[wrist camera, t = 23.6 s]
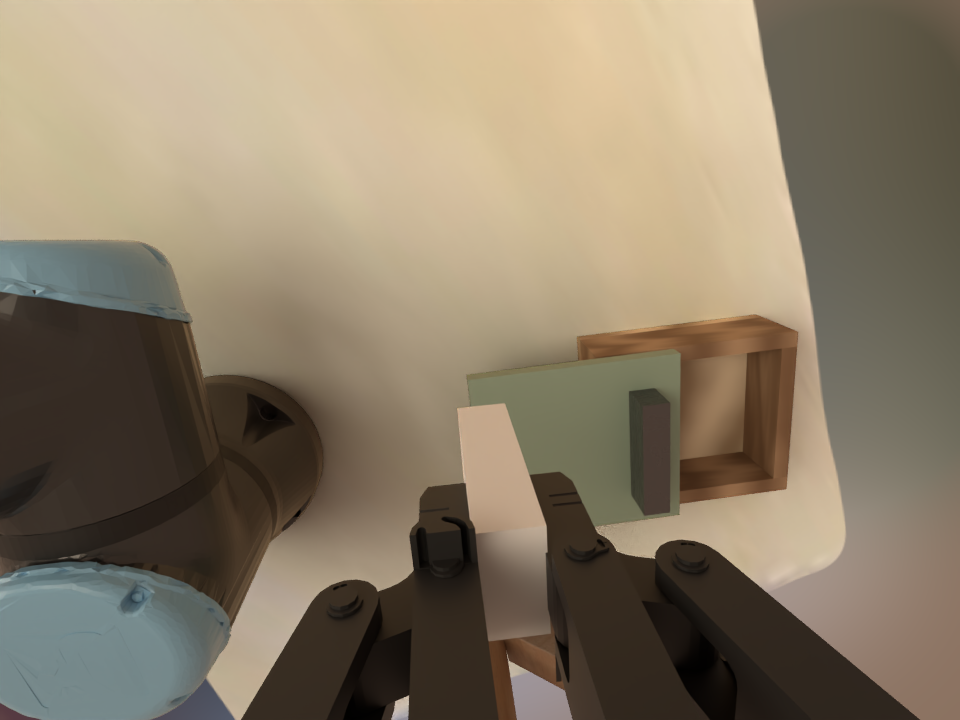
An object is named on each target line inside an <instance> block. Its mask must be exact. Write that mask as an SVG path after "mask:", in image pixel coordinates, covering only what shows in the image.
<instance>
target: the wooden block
mask: <svg viewBox="0 0 960 720" xmlns="http://www.w3.org/2000/svg"><path fill="white" fill-rule="evenodd" d="M550 627H551V634H544V635H536V636H528V637H520V638H512V639H504V640H496V641H488V642H489V649H490V657H491V665H492V672H493V680H494V687H495V695H496V703H497V710H498V718H499V720H517V718H516V712H515V705H514V698H513V692H512V685H511V679H510V672H509V665H508V659H507V654H508V658H509V661H511V662H513V663H515V664H517V665H518V666H520V667H522V668H524V669H526V670H528V671H530V672H532V673H533V674H535V675H537V676H539V677H541V678H543V679H545V680H546V681H548V682H550V683H552V684H554V685H556V686H558V687H560V688H561V689H563V690H565V688H564V685H563V681H560V682H556V659H555V633H554V629H553V626H552V622H551V618H550ZM506 650H507V652H506Z"/></svg>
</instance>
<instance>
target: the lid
mask: <svg viewBox="0 0 960 720" xmlns="http://www.w3.org/2000/svg"><path fill="white" fill-rule="evenodd" d="M680 359H681V353H679V352H678V351H676V350H675V349H669V350H661V351H653V352H645V353H637V354H629V355H621V356H613V357H605V358H597V359H589V360H581V361H573V362H565V363H557V364H549V365H541V366H533V367H525V368H517V369H509V370H502V371H494V372H486V373H478V374H470V375H467V382H468V391H469V399H470V407H472V406H482V405H492V404H502V403H505V405H506V408H507V411H508V414H509V417H510V420H511V423H512V426H513V429H514V432H515V435H516V438H517V440H518V443H519V446H520V449H521V452H522V455H523V458H524V461H525V464H526V467H527V470H528V473H529V475H532V474H541V473H551V472H561V473H563V474H564V475H565V476H567V477H568V478H569V479H571V480H572V481H573V483H574V485H575V487H576V489H577V492H578V494H579V496H580V498H581V500H582V503H583V504H584V506H585V508H586V510H587V512H588V515H589V517H590V519H591V521H592V523H593V525H594V527H595V526H602V525H609V524H616V523H623V522H631V521H638V520H645V519H652V518H660V517H667V516H674V515H679V501H680Z"/></svg>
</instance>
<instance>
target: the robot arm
mask: <svg viewBox="0 0 960 720" xmlns="http://www.w3.org/2000/svg"><path fill="white" fill-rule="evenodd" d="M192 322H193V321H192V316H191V315H190V314H189V313H188V312H186V310H185V307H184V304H183V300H182V297H181V294H180V291H179V288H178V284H177V281H176V278H175V275H174V272H173V268H172V266H171V264H170V262H169V260H168V259H167V258H166V257H165V255H164V254H163V253H161V252H160V251H159V250H158V249H156V248H154V247H153V246H150V245H148V244H146V243H142V242H138V241H128V240H1V241H0V703H2V704H3V705H5V706H7V707H8V708H10V709H13V710H15V711H17V712H19V713H21V714H23V715H25V716H28V717H34V718H37V719H41V720H151V719H154V718H156V717H159V716H161V715H163V714H165V713H167V712H169V711H171V710H173V709H174V708H176V707H177V706H179V705H180V704H182V703H183V702H184V701H186V700H187V699H188V697H189V696H190V695H192V694H193V693H194V691H195V690H196V689H197V688H198V687H199V686H200V685H201V684H202V682H203V681H204V679H205V678H206V676H207V674H208V673H209V671H210V669H211V668H212V666H213V664H214V663H215V661H216V659H217V658H218V656H219V654H220V653H221V652H222V651H223V650H224V648H225V647H226V645H227V643H228V640H229V638H230V636H231V634H230V632H231V628H232V625H233V623H234V621H235V619H236V616H237V614H238V612H239V610H240V608H241V605H242V603H243V601H244V599H245V596H246V594H247V592H248V590H249V587H250V585H251V583H252V581H253V579H254V576H255V574H256V572H257V570H258V567H259V565H260V563H261V561H262V559H263V556H264V554H265V552H266V550H267V548H268V545H269V543H270V542H271V541H272V540H273V539H274V538H276V537H277V536H278V535H279V534H280V533H281V532H282V531H284V530H285V529H287V528H288V527H289V526H290V525H292V524H293V523H294V522H295V521H296V520H297V519H298V518H299V517H300V516H301V515H302V514H303V512H304V511H305V510H306V508H307V507H308V505H309V504H310V502H311V500H312V498H313V496H314V494H315V491H316V488H317V486H318V483H319V480H320V477H321V473H322V467H323V452H322V446H321V442H320V438H319V435H318V433H317V430H316V428H315V426H314V424H313V423H312V421H311V419H310V418H309V416H308V415H307V414H306V412H305V411H304V410H303V409H302V408H301V407H300V406H299V405H298V404H297V403H296V402H295V401H294V400H293V399H292V398H290V397H289V396H288V395H286V394H285V393H283V392H282V391H280V390H279V389H277V388H275V387H273V386H271V385H269V384H266V383H264V382H261V381H258V380H255V379H251V378H247V377H242V376H231V375H220V376H211V377H205V378H203V374H202V370H201V366H200V362H199V358H198V354H197V350H196V346H195V342H194V338H193V333H192V329H191V325H190V323H192ZM457 411H458V422H459V433H460V444H461V455H462V466H463V477H464V483H461V484H452V485H443V486H433V487H428V488H427V489H426V491H425V492H424V493H423V495H422V496H421V498H420V509H419V511H420V513H419V522H418V523H417V524H416V525H415V526H414V527H413V528H412V530H411V533H410V535H409V536H410V543H411V551H412V559H413V567H414V571H413V572H412V573H411V574H410V575H409V576H408V577H407V578H406V579H405V580H403V581H402V582H400V583H399V584H396V585H394V586H392V587H390V588H387V589H384V590H381V591H379V592H377V589H376V587H374V586H373V585H372V584H370V583H369V582H366V581H361V580H347V581H342V582H339V583H336V584H333V585H331V586H329V587H328V588H326V589H324V590H323V591H321V592H320V593H319V594H318V595H317V596H316V597H315V599H314V600H313V601H312V602H311V604H310V606H309V607H308V609H307V611H306V612H305V614H304V616H303V617H302V619H301V621H300V622H299V624H298V626H297V627H296V629H295V631H294V632H293V634H292V636H291V637H290V639H289V641H288V642H287V644H286V646H285V647H284V649H283V651H282V652H281V654H280V656H279V657H278V659H277V661H276V662H275V664H274V666H273V667H272V669H271V671H270V672H269V674H268V676H267V677H266V679H265V681H264V682H263V684H262V686H261V687H260V689H259V691H258V692H257V694H256V696H255V697H254V699H253V701H252V702H251V704H250V706H249V707H248V709H247V711H246V712H245V714H244V716H243V717H242V719H241V720H391V718H392V715H393V712H394V706H395V701H397V700H399V699H401V698H404V697H406V696H408V695H409V716H408V718H409V719H408V720H499V718H498V710H497V703H496V695H495V687H494V680H493V672H492V665H491V657H490V649H489V642H488V641H496V640H504V639H512V638H520V637H528V636H536V635H544V634H551V627H550V618H551V622H552V626H553V629H554V633H555V659H556V682H560V681H563V685H564V688H565V692H566V696H567V700H568V704H569V707H570V711H571V715H572V719H573V720H920V719H918V718H917V717H916V716H915V715H914V714H912V713H911V712H910V711H909V710H908V709H906V708H905V707H904V706H903V705H902V704H900V703H899V702H898V701H897V700H896V699H894V698H893V697H892V696H891V695H889V694H888V693H887V692H886V691H884V690H883V689H882V688H881V687H880V686H879V685H877V684H876V683H875V682H874V681H873V680H871V679H870V678H869V677H868V676H866V675H865V674H864V673H863V672H862V671H861V670H859V669H858V668H857V667H856V666H855V665H853V664H852V663H851V662H850V661H848V660H847V659H846V658H845V657H843V656H842V655H841V654H840V653H839V652H838V651H836V650H835V649H834V648H833V647H832V646H830V645H829V644H828V643H827V642H826V641H824V640H823V639H822V638H821V637H820V636H818V635H817V634H816V633H815V632H814V631H812V630H811V629H810V628H809V627H808V626H806V625H805V624H804V623H803V622H802V621H800V620H799V619H798V618H797V617H796V616H794V615H793V614H792V613H791V612H789V611H788V610H787V609H786V608H785V607H783V606H782V605H781V604H780V603H779V602H777V601H776V600H775V599H774V598H773V597H771V596H770V595H769V594H768V593H767V592H765V591H764V590H763V589H762V588H761V587H759V586H758V585H757V584H756V583H755V582H753V581H752V580H751V579H750V578H749V577H747V576H746V575H745V574H744V573H742V572H741V571H740V570H739V569H738V568H736V567H735V566H734V565H733V564H732V563H730V562H729V561H728V560H727V559H726V558H724V557H723V556H722V555H721V554H720V553H718V552H717V551H715V550H714V549H712V548H711V547H709V546H707V545H705V544H702V543H698V542H695V541H688V540H676V541H669V542H667V543H665V544H663V545H661V546H660V547H659V549H658V550H657V551H656V555H655V559H652V558H643V557H635V556H629V555H625V554H622V553H619V552H617V551H616V549H615V547H614V546H613V545H612V543H611V542H610V541H609V540H608V539H607V538H605V537H603V536H601V535H600V534H598V533H597V531H596V529H595V527H594V525H593V523H592V521H591V519H590V517H589V515H588V512H587V510H586V508H585V506H584V504H583V503H582V500H581V498H580V496H579V494H578V492H577V489H576V487H575V485H574V483H573V481H572V480H571V479H569V478H568V477H567V476H565V475H564V474H563V473H561V472H551V473H541V474H532V475H529V473H528V470H527V467H526V464H525V461H524V458H523V455H522V452H521V449H520V446H519V443H518V440H517V438H516V435H515V432H514V429H513V426H512V423H511V420H510V417H509V414H508V411H507V408H506V405H505V403H502V404H492V405H482V406H472V407H462V408H457Z"/></svg>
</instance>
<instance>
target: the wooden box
mask: <svg viewBox="0 0 960 720" xmlns="http://www.w3.org/2000/svg"><path fill="white" fill-rule="evenodd" d="M797 340H798V332H797V331H795V330H792V329H790V328H787V327H785V326H782V325H780V324H778V323H775V322H773V321H770V320H768V319H765V318H763V317H760V316H758V315H749V316H741V317H733V318H724V319H716V320H708V321H700V322H692V323H684V324H676V325H668V326H660V327H652V328H644V329H636V330H627V331H619V332H611V333H603V334H595V335H587V336H579V337H577V344H578V361H581V360H589V359H597V358H605V357H613V356H621V355H629V354H637V353H645V352H653V351H661V350H669V349H675V350H676V351H678V352H679V353H681V359H680V501H679V504H681V503H688V502H696V501H703V500H710V499H718V498H725V497H732V496H739V495H747V494H754V493H761V492H769V491H776V490H783V489H786V487H787V474H788V460H789V447H790V434H791V420H792V407H793V394H794V380H795V367H796V354H797Z"/></svg>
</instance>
